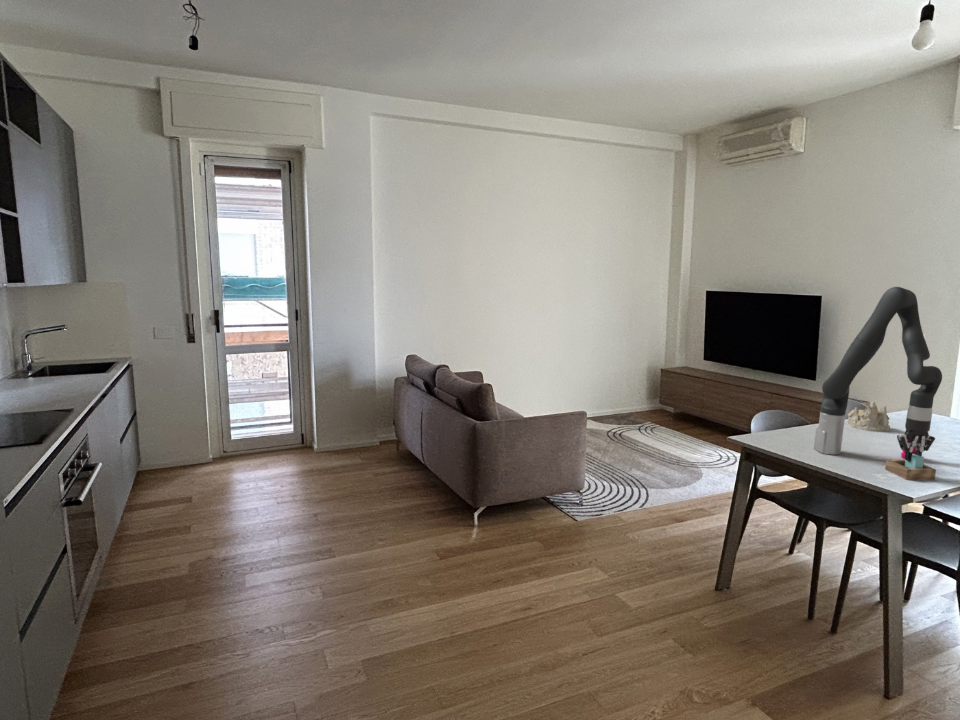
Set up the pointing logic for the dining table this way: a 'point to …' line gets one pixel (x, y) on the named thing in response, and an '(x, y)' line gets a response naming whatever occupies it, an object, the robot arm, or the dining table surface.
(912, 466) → the teal block
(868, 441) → the dining table surface
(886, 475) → the dining table surface
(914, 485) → the dining table surface
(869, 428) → the cream rough lump
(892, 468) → the wooden tray
